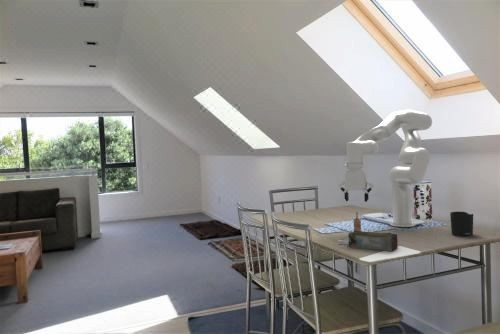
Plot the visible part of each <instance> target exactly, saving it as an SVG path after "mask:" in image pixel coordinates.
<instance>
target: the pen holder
mask: <svg viewBox="0 0 500 334" xmlns="http://www.w3.org/2000/svg"><path fill="white" fill-rule="evenodd" d="M450 229H451V230H450V231H451V235H453V236H456V237H472V236H473V235H474V213H468V212H466V211H450Z"/></svg>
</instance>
